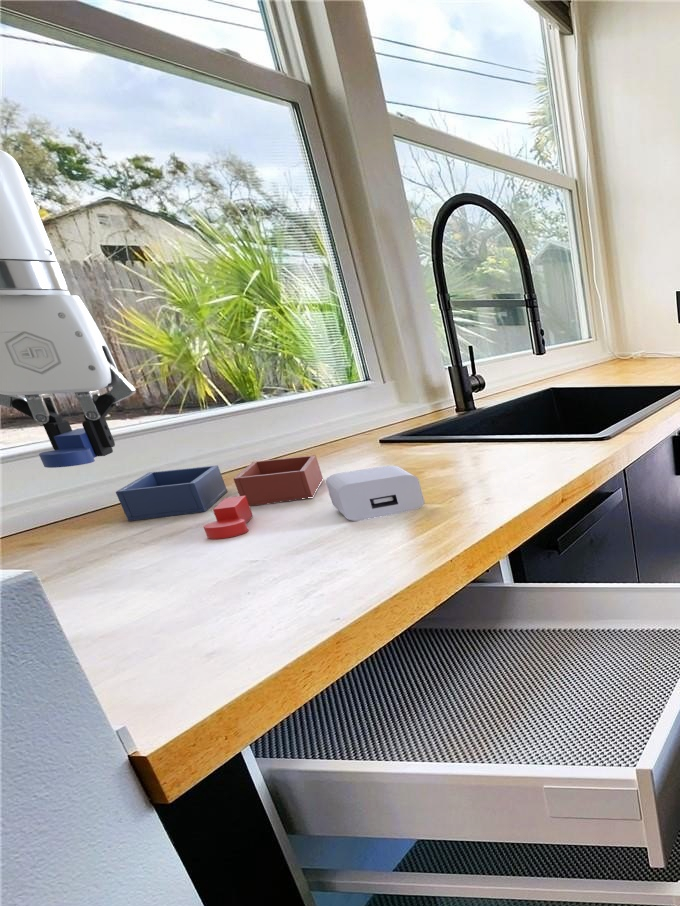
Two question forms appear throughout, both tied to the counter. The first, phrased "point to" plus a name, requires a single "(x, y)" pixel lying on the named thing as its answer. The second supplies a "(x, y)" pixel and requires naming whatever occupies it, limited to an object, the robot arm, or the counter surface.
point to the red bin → (279, 480)
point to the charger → (374, 492)
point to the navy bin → (172, 493)
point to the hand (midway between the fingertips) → (88, 454)
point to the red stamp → (229, 518)
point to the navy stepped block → (69, 450)
